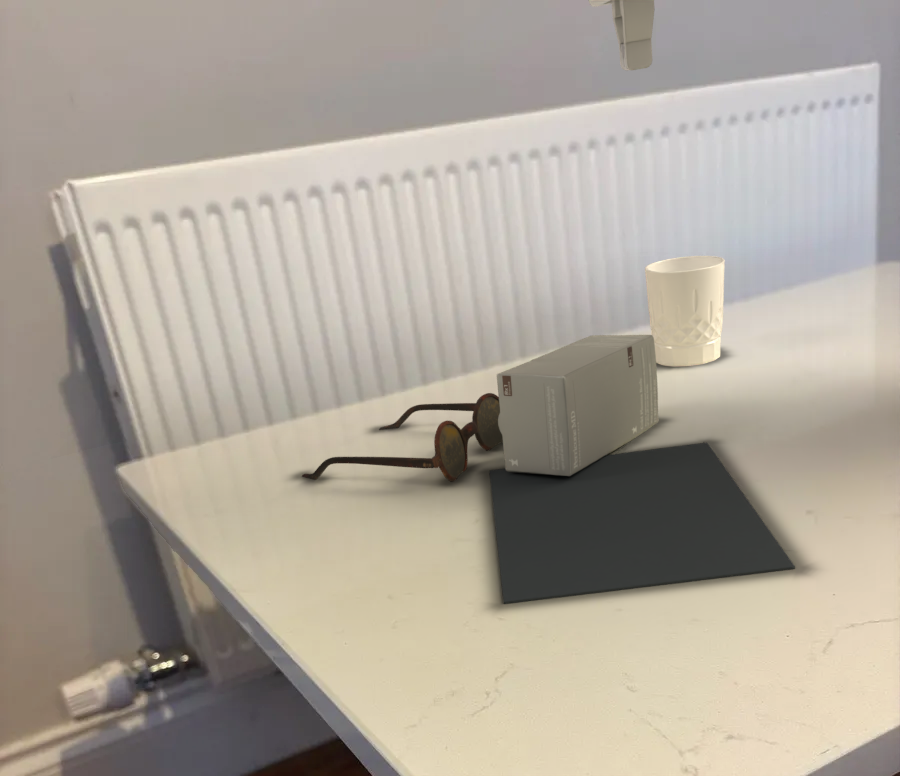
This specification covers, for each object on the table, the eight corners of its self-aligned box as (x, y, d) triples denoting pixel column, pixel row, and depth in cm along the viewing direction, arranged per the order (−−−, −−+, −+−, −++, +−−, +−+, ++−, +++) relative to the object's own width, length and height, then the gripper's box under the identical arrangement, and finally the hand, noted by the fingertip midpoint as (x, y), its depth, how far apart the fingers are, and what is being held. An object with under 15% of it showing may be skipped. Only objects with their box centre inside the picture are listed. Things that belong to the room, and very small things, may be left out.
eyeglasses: (441, 496, 83) (432, 437, 81) (296, 484, 90) (284, 430, 88) (519, 435, 94) (513, 382, 92) (384, 429, 101) (375, 380, 99)
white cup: (634, 367, 109) (628, 270, 104) (680, 348, 113) (676, 254, 109) (695, 375, 103) (692, 273, 99) (741, 355, 108) (740, 256, 103)
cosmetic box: (661, 423, 91) (580, 484, 80) (589, 420, 95) (501, 478, 84) (656, 328, 88) (570, 377, 76) (581, 329, 92) (489, 375, 80)
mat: (707, 448, 85) (706, 442, 84) (795, 575, 63) (795, 566, 63) (490, 476, 86) (489, 470, 85) (504, 610, 64) (503, 601, 64)
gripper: (706, -214, 58) (715, 59, 64) (641, -144, 76) (654, 63, 82) (594, -193, 58) (615, 76, 65) (557, -128, 77) (576, 77, 83)
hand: (636, 69), depth 74 cm, fingers closed
